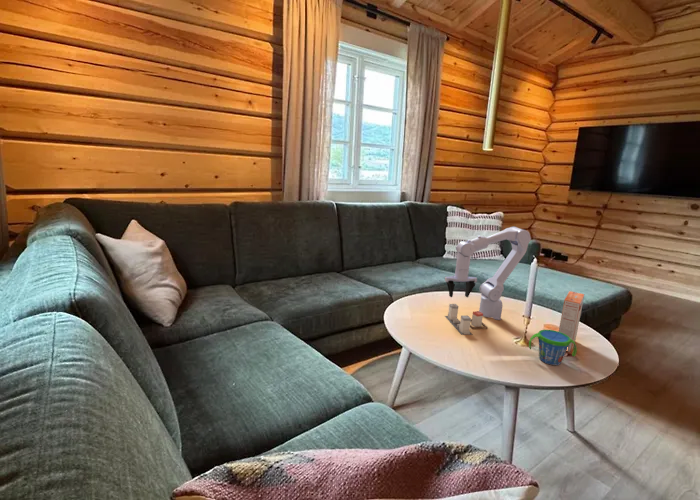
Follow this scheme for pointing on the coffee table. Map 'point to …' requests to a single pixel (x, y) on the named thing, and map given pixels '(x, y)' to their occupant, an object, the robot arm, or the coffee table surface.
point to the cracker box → (571, 316)
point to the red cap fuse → (477, 319)
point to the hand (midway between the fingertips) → (458, 296)
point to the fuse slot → (465, 323)
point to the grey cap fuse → (453, 311)
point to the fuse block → (458, 326)
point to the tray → (479, 327)
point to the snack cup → (552, 346)
